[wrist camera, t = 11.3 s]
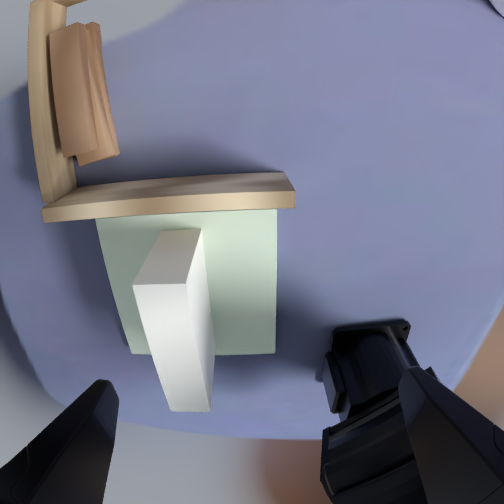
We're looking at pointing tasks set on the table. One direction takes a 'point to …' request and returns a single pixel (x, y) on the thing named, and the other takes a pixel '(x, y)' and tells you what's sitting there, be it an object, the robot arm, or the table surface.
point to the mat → (217, 268)
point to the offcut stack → (82, 94)
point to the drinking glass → (498, 6)
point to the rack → (131, 192)
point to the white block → (179, 318)
